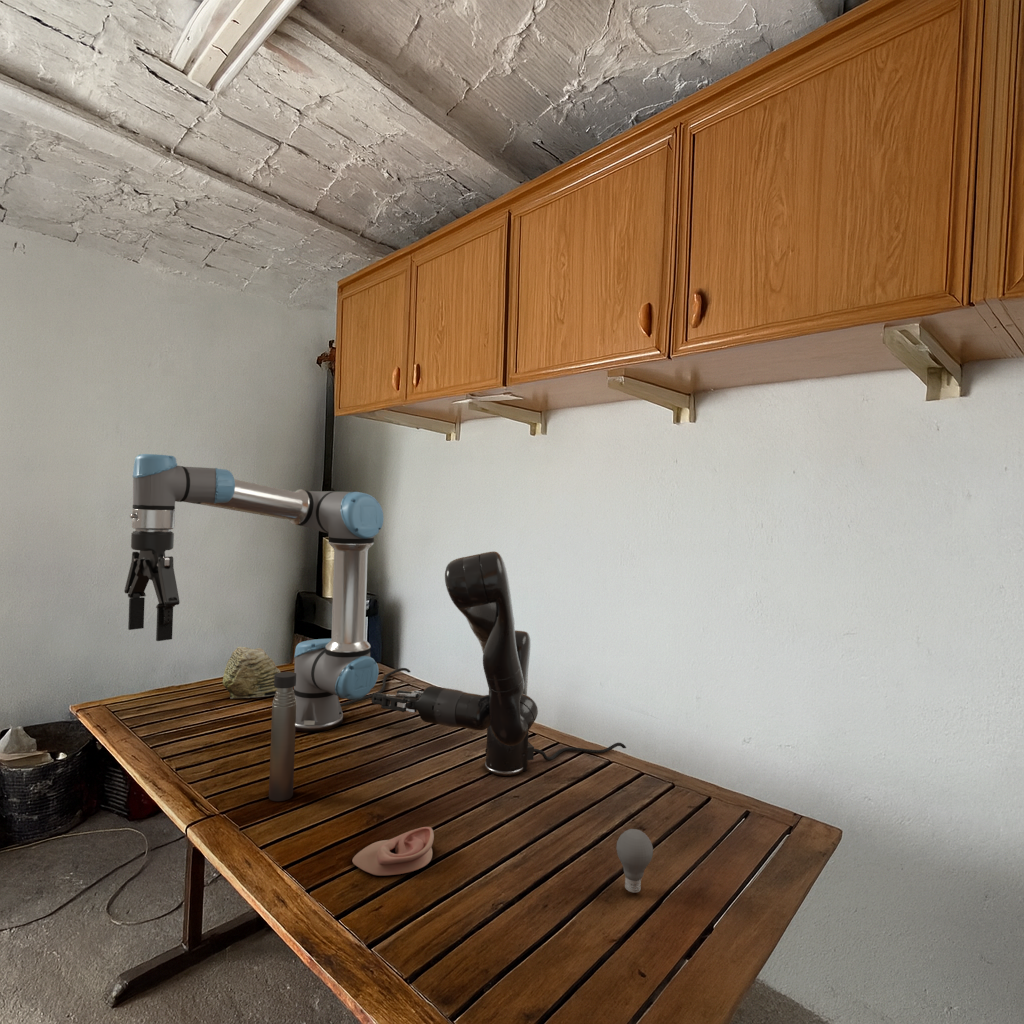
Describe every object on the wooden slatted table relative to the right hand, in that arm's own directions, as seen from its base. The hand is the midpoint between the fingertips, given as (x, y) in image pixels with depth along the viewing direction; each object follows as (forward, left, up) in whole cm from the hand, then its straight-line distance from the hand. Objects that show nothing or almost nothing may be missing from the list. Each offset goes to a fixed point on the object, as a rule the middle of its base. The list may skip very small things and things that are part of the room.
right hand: (385, 696), depth 141 cm
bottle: (+21, 0, -19) cm, 29 cm away
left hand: (+47, -6, +14) cm, 50 cm away
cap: (+21, 0, +6) cm, 22 cm away
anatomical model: (+3, +30, -19) cm, 36 cm away
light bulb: (-32, +52, -19) cm, 64 cm away
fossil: (+27, -72, -19) cm, 79 cm away
